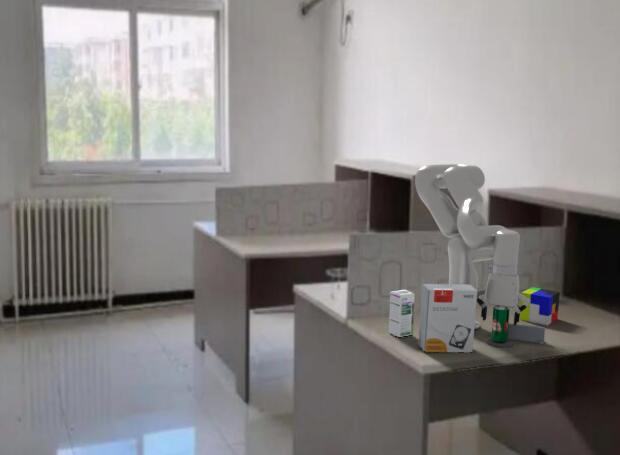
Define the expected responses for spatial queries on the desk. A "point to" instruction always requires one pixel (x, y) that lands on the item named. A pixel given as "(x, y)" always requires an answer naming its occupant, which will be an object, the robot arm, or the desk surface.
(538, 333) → the divider
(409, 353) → the desk surface
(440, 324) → the hard drive box
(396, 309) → the syrup box
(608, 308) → the desk surface
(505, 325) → the soda can
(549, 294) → the puzzle toy
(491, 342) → the coaster
